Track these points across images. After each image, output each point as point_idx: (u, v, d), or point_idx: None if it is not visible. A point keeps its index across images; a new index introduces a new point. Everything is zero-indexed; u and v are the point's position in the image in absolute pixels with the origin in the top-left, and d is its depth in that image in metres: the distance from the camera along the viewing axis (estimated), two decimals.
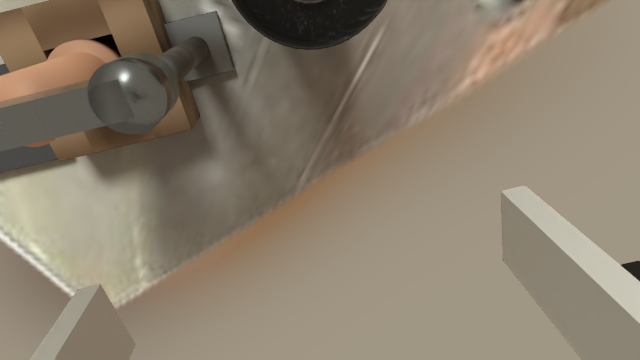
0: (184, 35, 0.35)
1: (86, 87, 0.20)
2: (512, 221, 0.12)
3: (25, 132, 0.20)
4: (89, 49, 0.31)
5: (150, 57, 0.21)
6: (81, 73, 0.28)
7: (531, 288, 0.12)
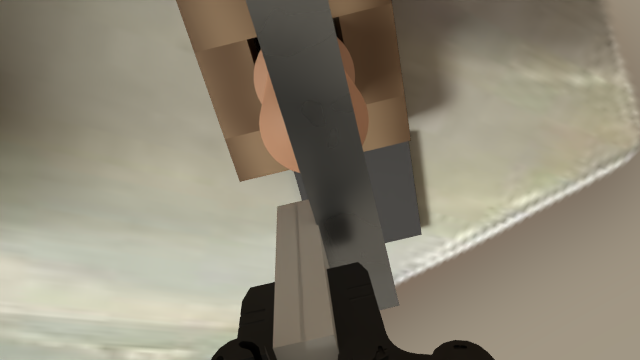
0: None
1: None
2: None
3: (325, 80, 0.11)
4: (263, 66, 0.24)
5: None
6: None
7: None
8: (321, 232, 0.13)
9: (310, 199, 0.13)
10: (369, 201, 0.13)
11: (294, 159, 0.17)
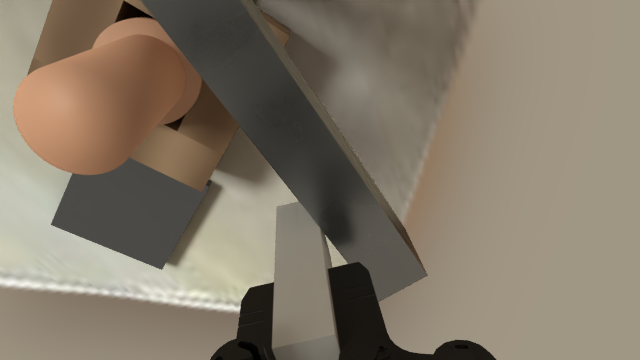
0: None
1: None
2: None
3: (267, 79, 0.11)
4: (116, 34, 0.22)
5: None
6: (115, 45, 0.19)
7: None
8: (321, 225, 0.13)
9: (298, 197, 0.13)
10: (357, 182, 0.13)
11: (35, 135, 0.16)
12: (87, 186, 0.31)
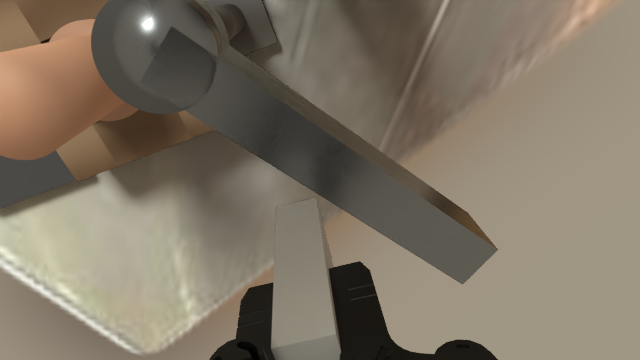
0: (213, 4, 0.28)
1: (187, 110, 0.13)
2: None
3: (310, 141, 0.14)
4: None
5: None
6: (89, 55, 0.21)
7: None
8: (391, 237, 0.15)
9: (364, 221, 0.15)
10: (408, 194, 0.15)
11: None
12: None
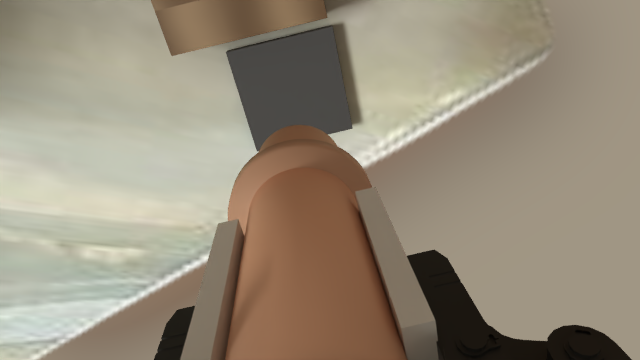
0: None
1: None
2: (361, 217, 0.14)
3: None
4: (242, 203, 0.16)
5: None
6: (261, 240, 0.12)
7: None
8: None
9: None
10: None
11: None
12: (256, 100, 0.36)
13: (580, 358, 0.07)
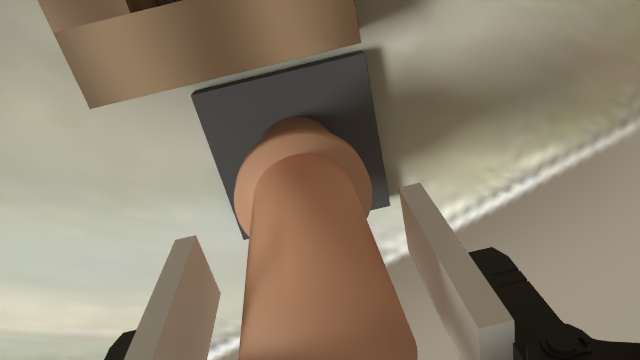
0: None
1: None
2: (406, 214, 0.14)
3: None
4: (248, 188, 0.17)
5: None
6: (270, 216, 0.13)
7: (421, 273, 0.14)
8: None
9: None
10: None
11: None
12: None
13: None
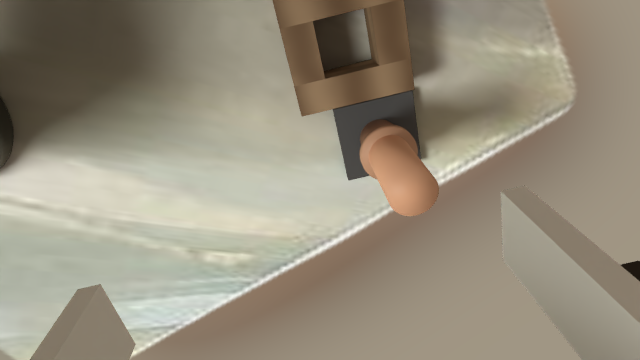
0: None
1: None
2: (512, 221, 0.12)
3: None
4: (367, 149, 0.42)
5: None
6: (386, 155, 0.38)
7: (531, 288, 0.12)
8: None
9: None
10: None
11: (402, 209, 0.36)
12: (351, 143, 0.48)
13: None
